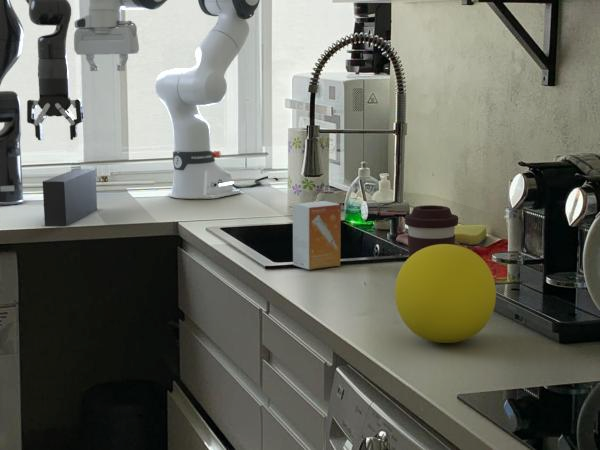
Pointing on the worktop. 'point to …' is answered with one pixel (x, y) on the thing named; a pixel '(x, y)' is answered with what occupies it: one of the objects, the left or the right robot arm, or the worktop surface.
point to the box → (69, 197)
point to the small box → (316, 234)
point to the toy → (445, 293)
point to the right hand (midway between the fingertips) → (107, 71)
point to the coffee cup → (430, 227)
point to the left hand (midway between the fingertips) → (56, 139)
